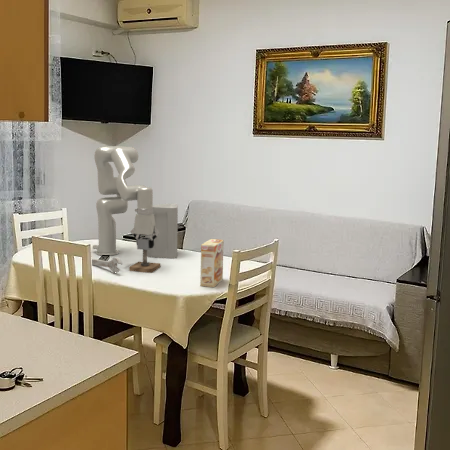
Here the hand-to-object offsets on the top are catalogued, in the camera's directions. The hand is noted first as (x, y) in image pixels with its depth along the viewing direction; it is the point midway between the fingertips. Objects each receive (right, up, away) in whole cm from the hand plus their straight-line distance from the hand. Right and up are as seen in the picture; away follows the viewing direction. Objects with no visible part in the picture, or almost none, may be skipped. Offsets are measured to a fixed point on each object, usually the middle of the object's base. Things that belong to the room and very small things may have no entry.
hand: (145, 246), depth 297 cm
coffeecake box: (+34, -16, -20) cm, 43 cm away
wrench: (-20, -12, 0) cm, 23 cm away
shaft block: (0, -11, +2) cm, 11 cm away
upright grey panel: (+8, -6, +32) cm, 33 cm away
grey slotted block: (0, -1, 0) cm, 1 cm away
